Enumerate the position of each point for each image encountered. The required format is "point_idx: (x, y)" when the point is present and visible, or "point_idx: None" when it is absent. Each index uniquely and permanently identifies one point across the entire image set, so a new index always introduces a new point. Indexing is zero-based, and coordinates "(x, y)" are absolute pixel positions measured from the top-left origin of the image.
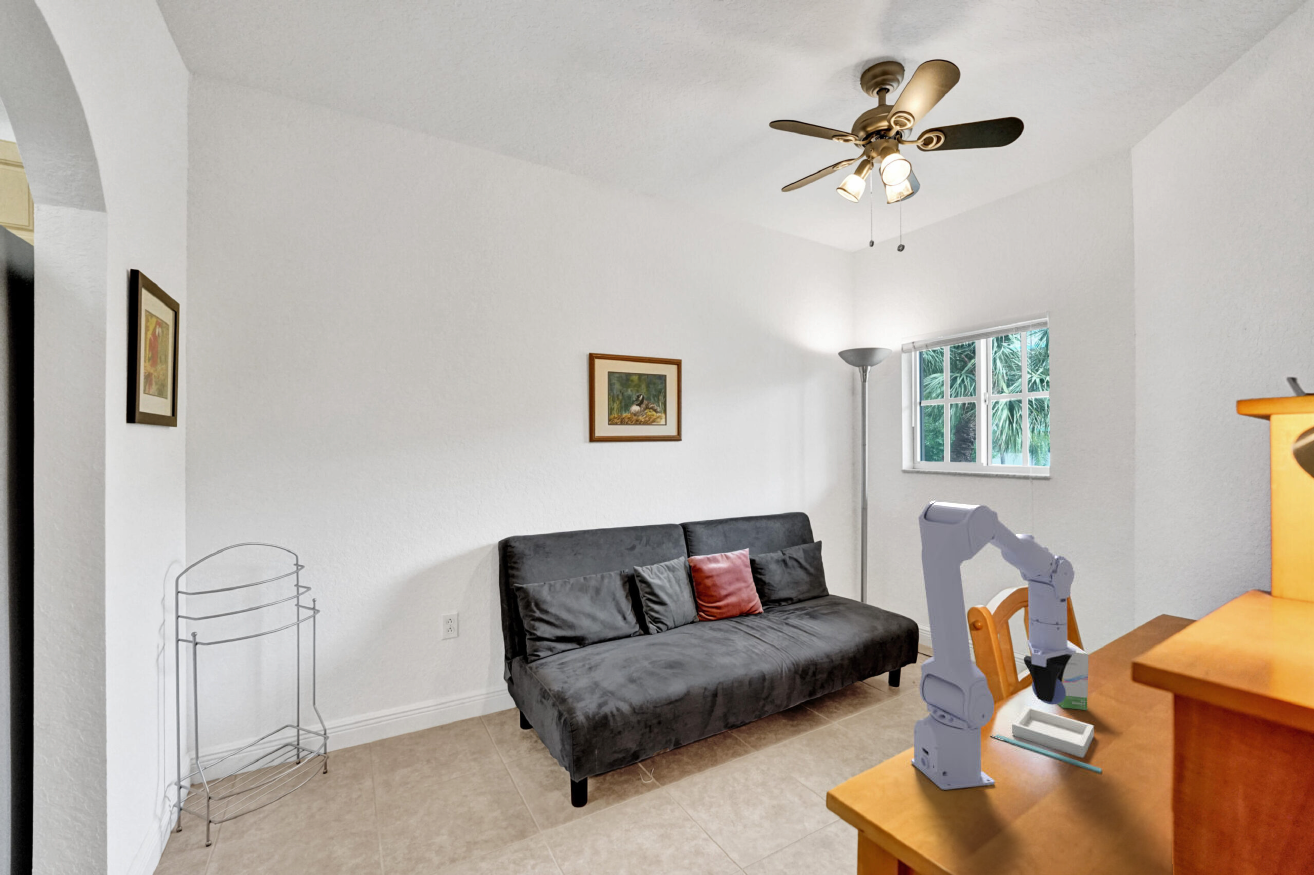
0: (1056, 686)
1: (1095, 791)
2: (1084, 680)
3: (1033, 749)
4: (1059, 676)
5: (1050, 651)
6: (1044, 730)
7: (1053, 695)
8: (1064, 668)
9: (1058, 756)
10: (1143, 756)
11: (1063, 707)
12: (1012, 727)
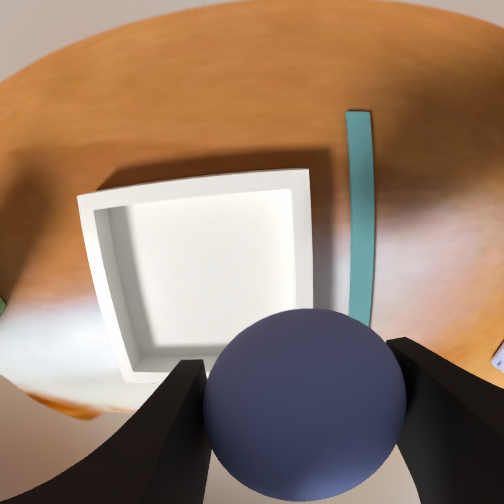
0: (388, 391)
1: (465, 118)
2: None
3: (371, 287)
4: (173, 440)
5: None
6: (203, 306)
7: (428, 352)
8: (127, 485)
9: (365, 224)
10: (121, 55)
11: (3, 302)
12: None
